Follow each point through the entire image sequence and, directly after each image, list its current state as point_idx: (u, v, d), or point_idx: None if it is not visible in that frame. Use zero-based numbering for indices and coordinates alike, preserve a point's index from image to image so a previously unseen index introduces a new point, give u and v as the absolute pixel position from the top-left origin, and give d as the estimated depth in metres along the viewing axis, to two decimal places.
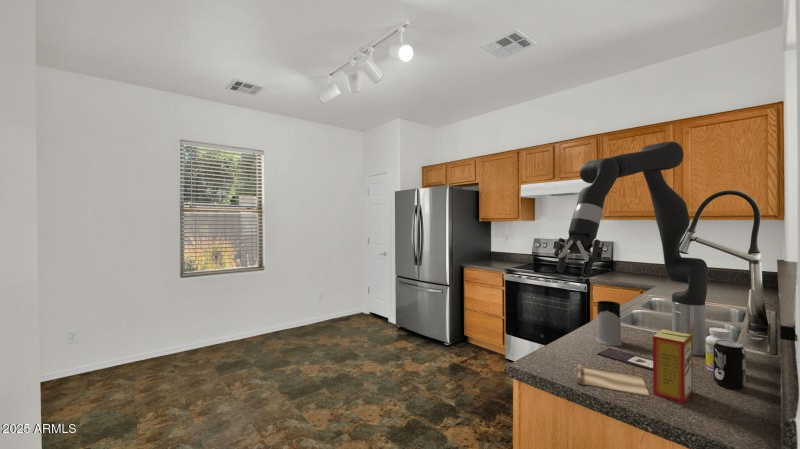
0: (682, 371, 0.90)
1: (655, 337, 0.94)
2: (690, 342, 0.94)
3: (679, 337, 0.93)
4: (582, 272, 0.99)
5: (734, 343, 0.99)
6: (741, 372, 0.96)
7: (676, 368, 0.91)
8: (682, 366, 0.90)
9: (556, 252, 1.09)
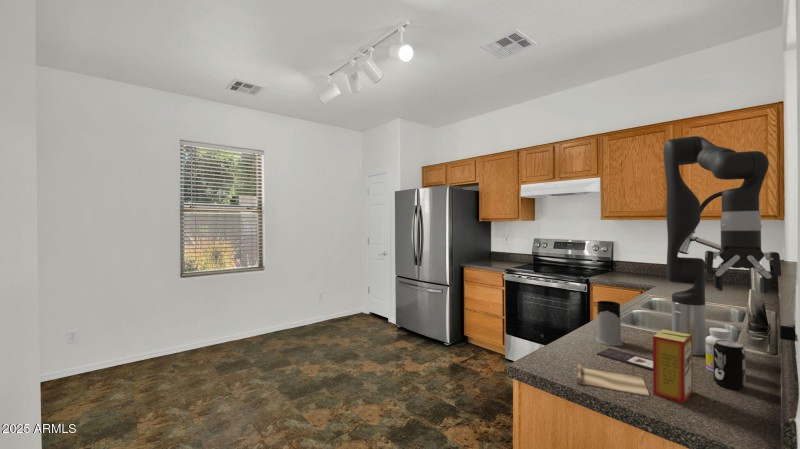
0: (682, 371, 0.90)
1: (655, 337, 0.94)
2: (690, 342, 0.94)
3: (679, 337, 0.93)
4: (765, 291, 0.88)
5: (734, 343, 0.99)
6: (741, 372, 0.96)
7: (676, 368, 0.91)
8: (682, 366, 0.90)
9: (710, 269, 0.93)
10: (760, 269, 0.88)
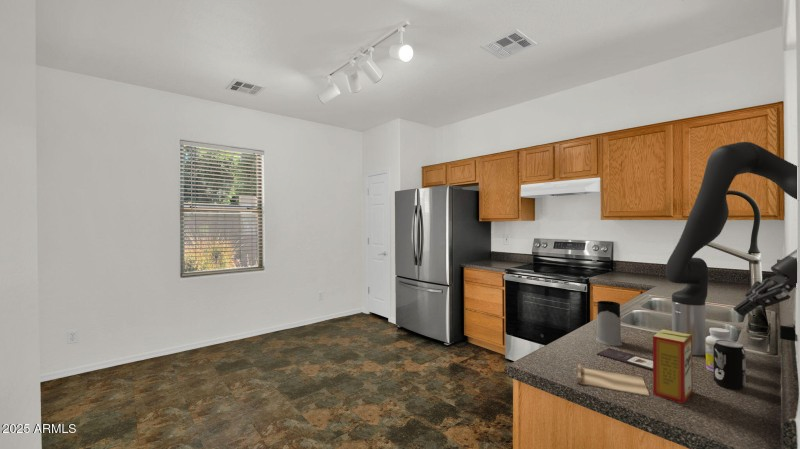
0: (682, 371, 0.90)
1: (655, 337, 0.94)
2: (690, 342, 0.94)
3: (679, 337, 0.93)
4: None
5: (734, 343, 0.99)
6: (741, 372, 0.96)
7: (676, 368, 0.91)
8: (682, 366, 0.90)
9: None
10: None
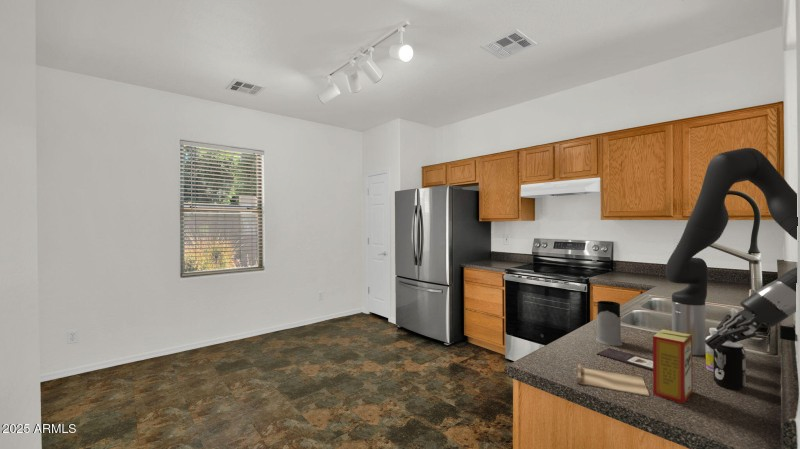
0: (682, 371, 0.90)
1: (655, 337, 0.94)
2: (690, 342, 0.94)
3: (679, 337, 0.93)
4: None
5: (734, 343, 0.99)
6: (741, 372, 0.96)
7: (676, 368, 0.91)
8: (682, 366, 0.90)
9: None
10: None
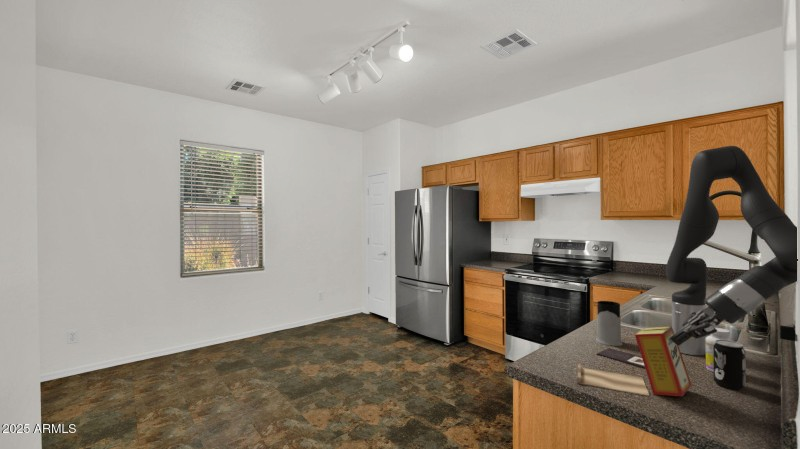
0: (670, 363, 0.92)
1: (637, 335, 0.97)
2: (672, 334, 0.97)
3: (659, 330, 0.96)
4: None
5: (734, 343, 0.99)
6: (741, 372, 0.96)
7: (664, 361, 0.93)
8: (669, 358, 0.92)
9: None
10: None
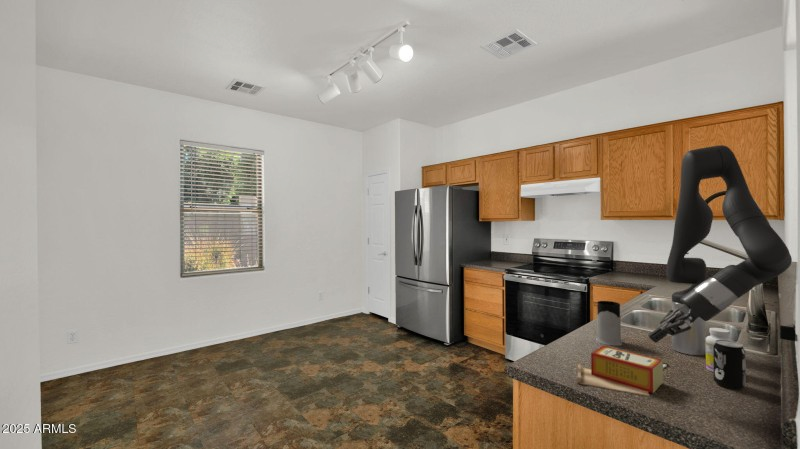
0: (619, 361, 1.01)
1: (592, 372, 1.06)
2: (606, 348, 1.10)
3: None
4: None
5: (734, 343, 0.99)
6: (741, 372, 0.96)
7: (617, 365, 1.01)
8: (614, 359, 1.02)
9: None
10: None
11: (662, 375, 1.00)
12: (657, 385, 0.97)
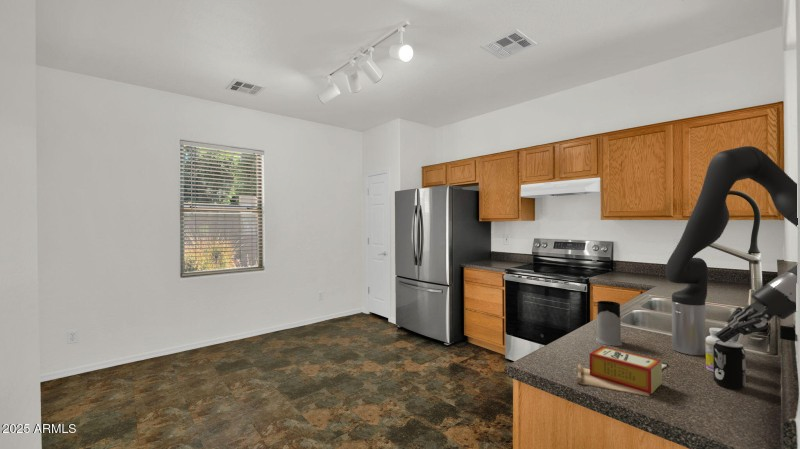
0: (617, 361, 1.00)
1: (590, 373, 1.06)
2: (605, 349, 1.10)
3: None
4: None
5: (734, 343, 0.99)
6: (741, 372, 0.96)
7: (616, 365, 1.01)
8: (612, 360, 1.01)
9: None
10: None
11: (661, 376, 1.00)
12: (656, 386, 0.97)
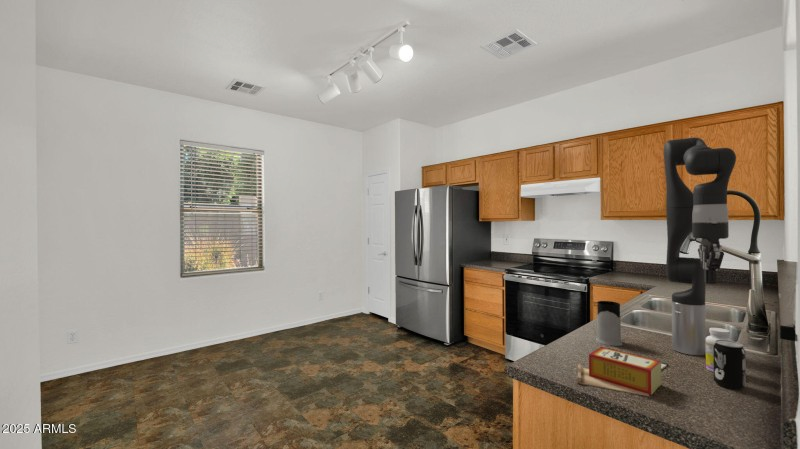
0: (616, 362, 1.00)
1: (590, 374, 1.05)
2: (604, 349, 1.09)
3: None
4: None
5: (734, 343, 0.99)
6: (741, 372, 0.96)
7: (615, 366, 1.00)
8: (612, 361, 1.01)
9: None
10: None
11: (660, 376, 0.99)
12: (655, 387, 0.96)
